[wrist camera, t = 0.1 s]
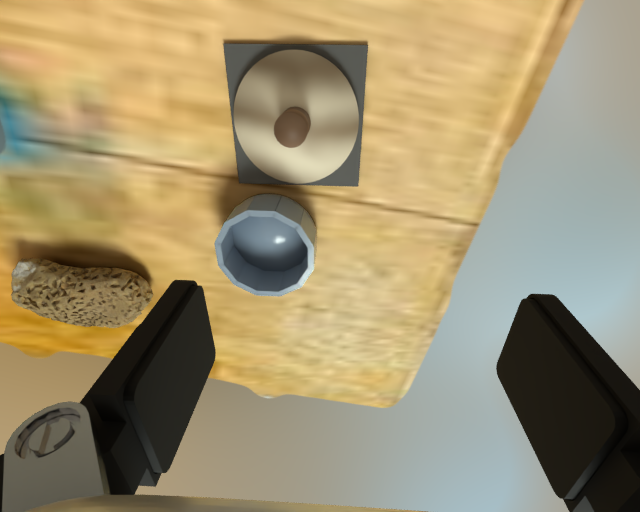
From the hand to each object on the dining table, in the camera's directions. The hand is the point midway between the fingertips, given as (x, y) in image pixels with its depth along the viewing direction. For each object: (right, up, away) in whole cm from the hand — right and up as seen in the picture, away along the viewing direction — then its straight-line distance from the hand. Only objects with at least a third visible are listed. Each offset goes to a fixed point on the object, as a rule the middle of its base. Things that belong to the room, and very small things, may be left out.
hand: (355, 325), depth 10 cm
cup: (-8, +5, +40) cm, 41 cm away
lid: (-4, +19, +31) cm, 37 cm away
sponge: (-38, -2, +47) cm, 60 cm away
